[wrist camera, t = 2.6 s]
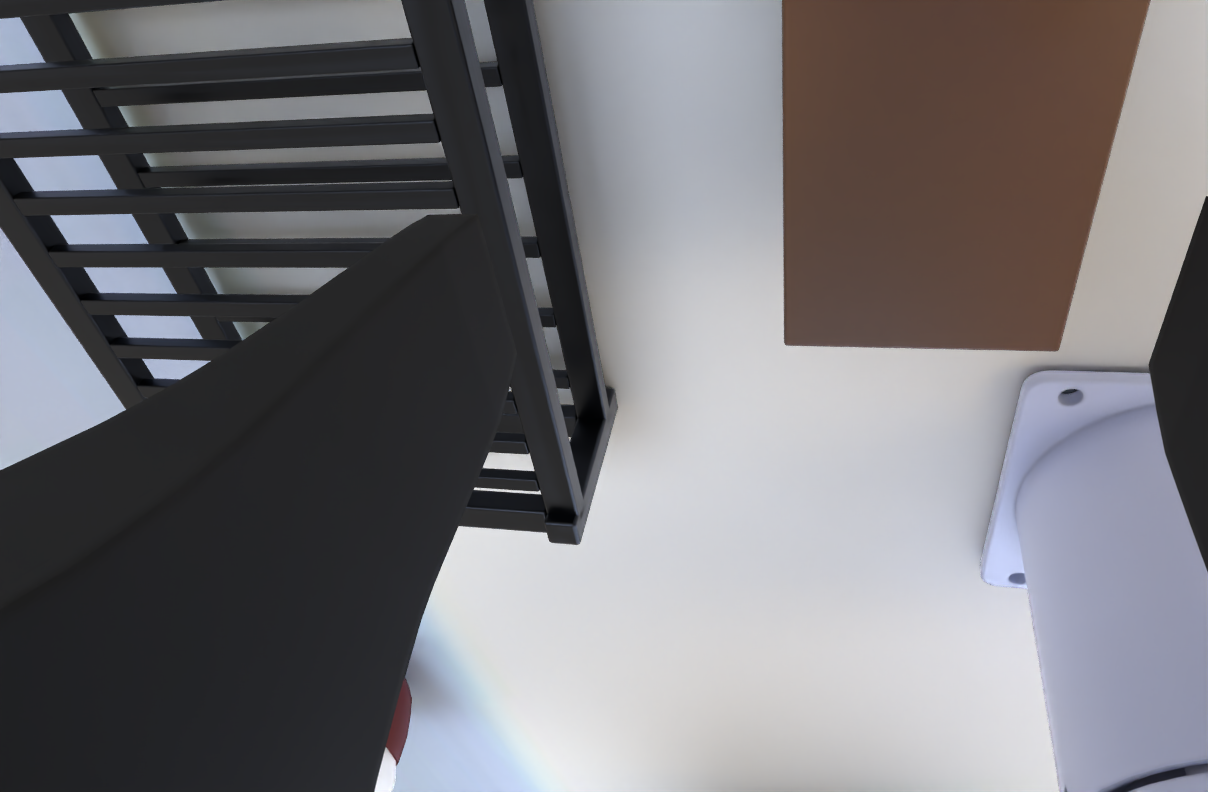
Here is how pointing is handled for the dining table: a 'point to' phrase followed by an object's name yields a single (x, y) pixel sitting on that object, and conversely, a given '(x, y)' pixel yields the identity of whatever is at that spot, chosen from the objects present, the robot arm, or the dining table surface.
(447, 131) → the shoe rack
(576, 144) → the dining table surface
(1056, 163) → the shoe brush
